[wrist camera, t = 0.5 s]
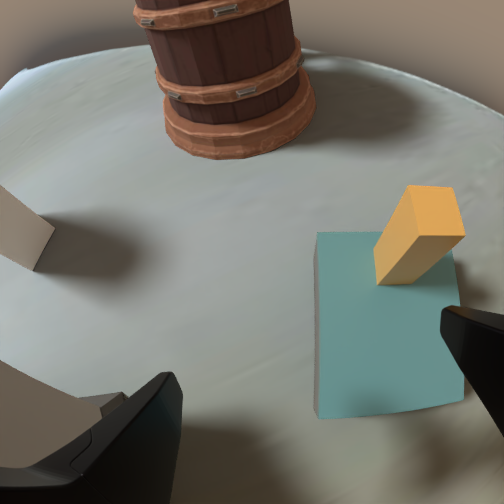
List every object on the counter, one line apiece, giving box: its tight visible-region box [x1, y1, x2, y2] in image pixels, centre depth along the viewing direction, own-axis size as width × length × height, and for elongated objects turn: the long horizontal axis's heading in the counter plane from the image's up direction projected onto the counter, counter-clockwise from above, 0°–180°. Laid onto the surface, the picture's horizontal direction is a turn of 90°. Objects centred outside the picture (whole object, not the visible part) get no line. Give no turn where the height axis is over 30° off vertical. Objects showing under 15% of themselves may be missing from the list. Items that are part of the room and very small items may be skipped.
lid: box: [317, 185, 466, 419], centre depth 15 cm, size 12×10×10 cm
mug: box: [133, 0, 316, 160], centre depth 25 cm, size 18×23×20 cm
